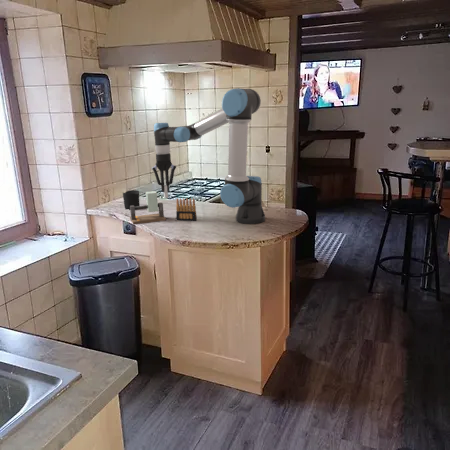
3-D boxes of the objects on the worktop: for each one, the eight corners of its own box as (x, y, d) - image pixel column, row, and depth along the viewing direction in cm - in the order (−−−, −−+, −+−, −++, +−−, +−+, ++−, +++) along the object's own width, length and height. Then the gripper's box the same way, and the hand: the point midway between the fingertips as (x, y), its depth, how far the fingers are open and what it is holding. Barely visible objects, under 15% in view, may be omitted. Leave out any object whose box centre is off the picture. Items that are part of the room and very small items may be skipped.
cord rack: (165, 220, 228) (164, 205, 225) (133, 224, 222) (132, 208, 220) (161, 215, 239) (159, 200, 236) (130, 218, 233) (128, 204, 231)
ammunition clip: (176, 220, 227) (175, 198, 224) (177, 219, 228) (176, 197, 225) (195, 221, 224) (194, 198, 221) (196, 220, 226) (195, 197, 223)
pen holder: (142, 208, 255) (140, 192, 253) (126, 210, 251) (124, 194, 248) (137, 205, 263) (136, 189, 261) (122, 207, 259) (120, 191, 257)
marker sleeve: (158, 211, 229) (156, 192, 226) (148, 212, 227) (147, 193, 224) (156, 209, 233) (154, 191, 230) (147, 210, 232) (145, 192, 229)
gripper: (173, 151, 230) (176, 195, 236) (149, 153, 226) (152, 197, 232) (176, 153, 223) (179, 197, 230) (151, 154, 219) (155, 200, 225)
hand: (166, 197), depth 231 cm, fingers closed
